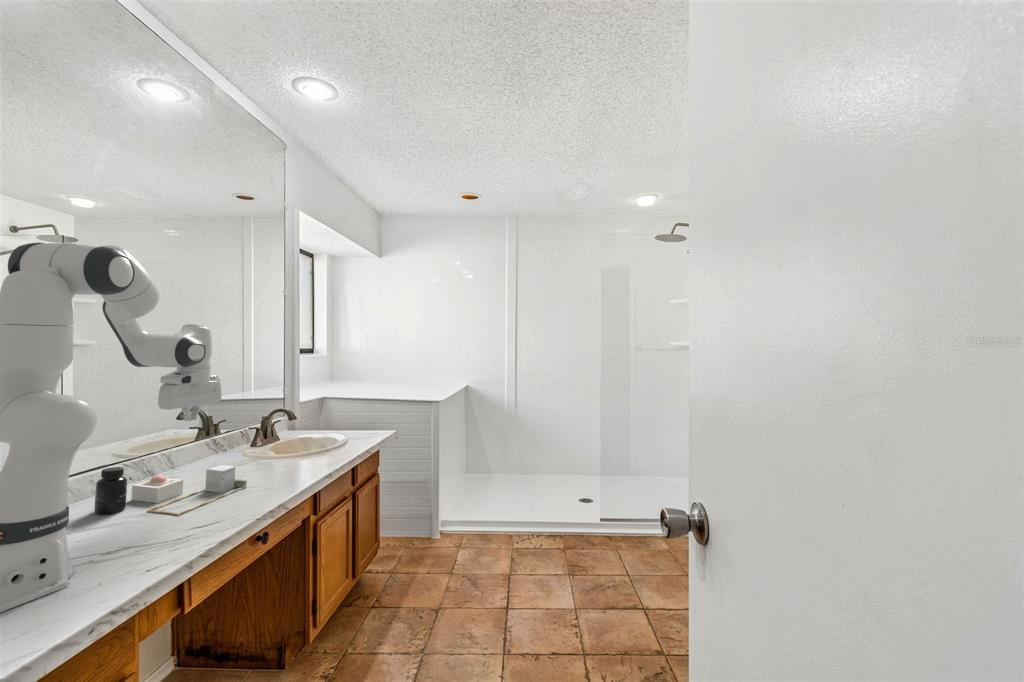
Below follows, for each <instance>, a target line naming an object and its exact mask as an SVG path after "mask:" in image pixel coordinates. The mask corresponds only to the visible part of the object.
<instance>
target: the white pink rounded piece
mask: <svg viewBox="0 0 1024 682" xmlns="http://www.w3.org/2000/svg"><path fill="white" fill-rule="evenodd" d="M166 478H167V477H166V476H165V475H162V474H157V475H155V476H153V477H152V478H150V479H149V480H150V481H148V480H147V481H148V482H147V485H148V486H157V487H158V486H161V485H164V484H167V483H169V481H170V480H169V479H166Z"/></svg>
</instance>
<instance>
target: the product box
mask: <svg viewBox="0 0 1024 682" xmlns="http://www.w3.org/2000/svg"><path fill="white" fill-rule="evenodd" d="M205 470H206V471H205V472H206V474H205V486H204V489H205V491H204V492H209V493H210V492H211V493H217V494H218V493H219V494H221V493H224V492H227V491H229V490H232V489H234V488H235V487H234V484H235V479H236V466H235V465H226V464H225V465H224V464H219V465H217V466H213V467H210V468H207V469H205Z"/></svg>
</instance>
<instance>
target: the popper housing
mask: <svg viewBox="0 0 1024 682" xmlns="http://www.w3.org/2000/svg"><path fill="white" fill-rule="evenodd" d="M166 479H169V480H170V481H169V483H167V484H164V485H161V486H158V487H157V486H148V485H147V482H148V481H150V480H151V479H149V480H145V481H142V482H139V483H136V484H133V485H132V486H131V497H130V498H131V499H130V500H131V501H136V502H144V503H151V502H153V504H159V503H161V501H162V502H164V501H168V500H169V498H170V499H172V498H175V497H177V496H180V495H183V491H184V490H183V489H184V479H180V478H170V477H169V478H168V477H166Z"/></svg>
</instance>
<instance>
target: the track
mask: <svg viewBox="0 0 1024 682" xmlns="http://www.w3.org/2000/svg"><path fill="white" fill-rule="evenodd" d="M247 481H248V480H247V479H239V478H235V484H234V488H237V489H234V490H232V491H229V492H227V493H224V494H222V495H220V496H217V497H214V498H212V499H211V500H208V501H205V502H203V503H200V504H198V505H195V506H192V507H191V508H188V509H186V510H183V511H181V512H179V513H178V512H172V511H165V510H164V511H162V510H158V509H160V507H161V508H163V507H165V505H166V506H168V505H170V504H173V502H174V503H175V502H179V501H181V500H184V499H187V498H189V497H192V496H195V495H197V494H199V493H202V492H206V491H205V488H203V489H200V490H197V491H195V492H191V493H190V494H186V495H184V496H182V497H179V498H176V499H174V500H170V501H168V502H166V503H163V504H160V505H158V506H155V507H153V508H149V509H147V510H146V513H153V512H154V514H160V515H161V514H162V515H170V516H176V517H177V516H178V517H179V516H181V515H184V514H187V513H189V512H191V511H193V510H195V509H197V508H201V507H203V506H205V505H209V504H210V503H213V502H214V501H217V500H219V499H221V498H224V497H227V496H229V495H231V494H234V493H236V492H238V491H241V490H243V489H245V488H247V485H248V484H247Z"/></svg>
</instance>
